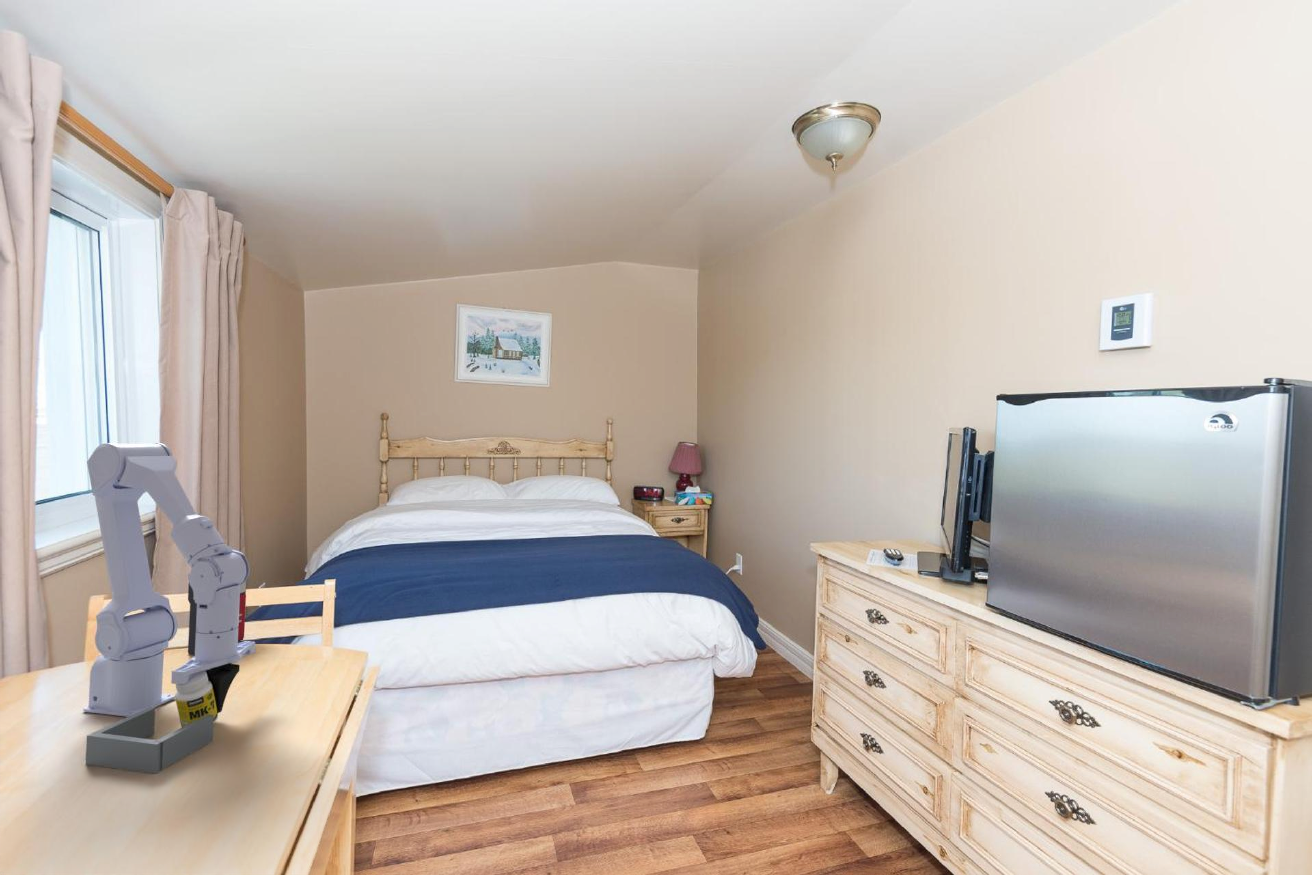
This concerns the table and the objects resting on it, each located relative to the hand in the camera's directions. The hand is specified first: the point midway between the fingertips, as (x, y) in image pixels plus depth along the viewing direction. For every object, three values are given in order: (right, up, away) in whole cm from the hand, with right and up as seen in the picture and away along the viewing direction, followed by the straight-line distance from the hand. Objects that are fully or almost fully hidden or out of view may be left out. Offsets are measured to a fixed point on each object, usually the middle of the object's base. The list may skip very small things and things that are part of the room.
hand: (214, 711), depth 104 cm
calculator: (-22, 0, +33) cm, 39 cm away
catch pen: (-2, -1, -11) cm, 11 cm away
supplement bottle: (0, -1, -3) cm, 3 cm away
